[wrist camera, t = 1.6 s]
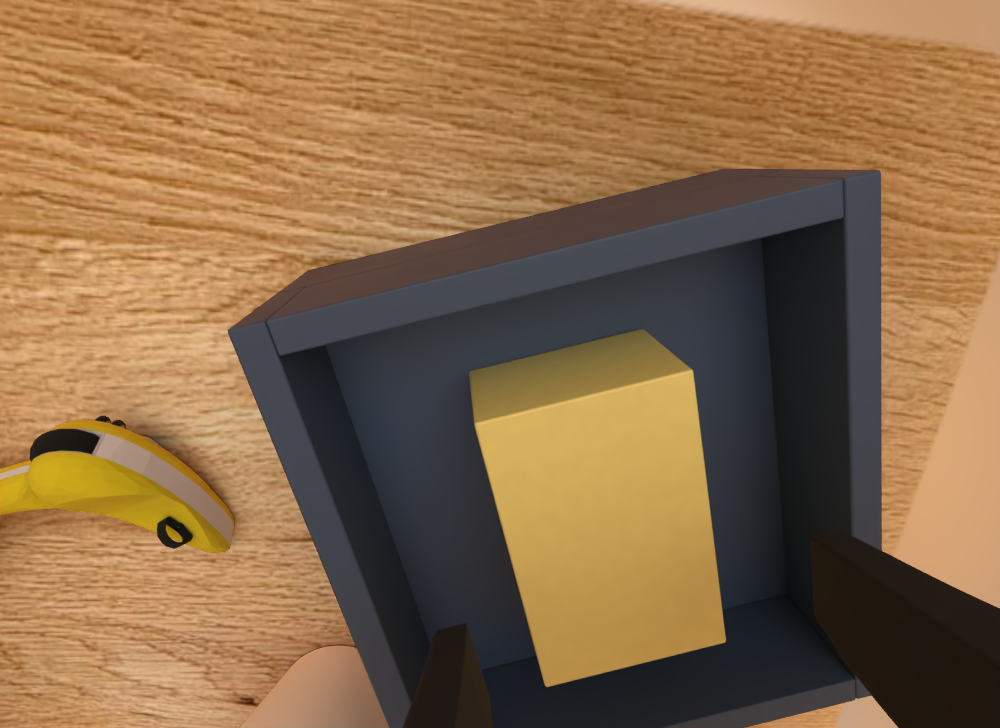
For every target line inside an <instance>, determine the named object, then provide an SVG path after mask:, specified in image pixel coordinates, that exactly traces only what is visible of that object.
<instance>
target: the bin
mask: <svg viewBox="0 0 1000 728" xmlns="http://www.w3.org/2000/svg"><path fill="white" fill-rule="evenodd" d="M640 329H644V330H645V331H646V332H647V333H649V334H650V335H651V336H652V337H653V338H655V339H656V340H657V341H658V342H659V343H661V344H662V345H663V346H664V347H665V348H667V349H668V350H669V351H670V352H671V353H673V354H674V355H675V356H676V357H677V358H679V359H680V360H681V361H682V362H684V363H685V364H686V365H687V366H688V367H690V368H691V369H692V370H693V374H694V382H695V390H696V398H697V406H698V415H699V423H700V431H701V439H702V447H703V456H704V464H705V472H706V480H707V488H708V497H709V505H710V513H711V521H712V529H713V538H714V546H715V554H716V562H717V570H718V579H719V587H720V595H721V603H722V611H723V620H724V628H725V636H726V642H725V643H721V644H717V645H713V646H709V647H705V648H701V649H697V650H693V651H689V652H685V653H681V654H677V655H673V656H669V657H665V658H661V659H657V660H653V661H649V662H645V663H641V664H637V665H633V666H629V667H625V668H621V669H617V670H613V671H609V672H605V673H601V674H597V675H593V676H589V677H585V678H581V679H577V680H573V681H569V682H565V683H561V684H557V685H553V686H549V687H546V686H545V685H544V681H543V677H542V674H541V670H540V666H539V663H538V659H537V655H536V651H535V648H534V644H533V640H532V637H531V633H530V629H529V626H528V622H527V618H526V614H525V611H524V607H523V603H522V600H521V596H520V592H519V589H518V585H517V581H516V577H515V574H514V570H513V566H512V563H511V559H510V555H509V552H508V548H507V544H506V541H505V537H504V533H503V529H502V526H501V522H500V518H499V515H498V511H497V507H496V504H495V500H494V496H493V492H492V489H491V485H490V481H489V478H488V474H487V470H486V467H485V463H484V459H483V456H482V452H481V448H480V444H479V441H478V437H477V433H476V430H475V426H474V417H473V407H472V398H471V388H470V378H469V372H470V371H473V370H477V369H481V368H485V367H490V366H494V365H498V364H502V363H506V362H510V361H514V360H518V359H522V358H526V357H530V356H534V355H538V354H542V353H546V352H550V351H554V350H559V349H563V348H567V347H571V346H575V345H579V344H583V343H587V342H591V341H595V340H599V339H603V338H607V337H611V336H615V335H619V334H624V333H628V332H632V331H636V330H640ZM228 334H229V336H230V339H231V341H232V344H233V346H234V348H235V351H236V353H237V356H238V358H239V361H240V363H241V366H242V368H243V371H244V373H245V375H246V378H247V380H248V383H249V385H250V388H251V390H252V393H253V395H254V398H255V400H256V402H257V405H258V407H259V410H260V412H261V415H262V417H263V420H264V422H265V424H266V427H267V429H268V432H269V434H270V437H271V439H272V442H273V444H274V447H275V449H276V451H277V454H278V456H279V459H280V461H281V464H282V466H283V469H284V471H285V473H286V476H287V478H288V481H289V483H290V486H291V488H292V491H293V493H294V496H295V498H296V500H297V503H298V505H299V508H300V510H301V513H302V515H303V518H304V520H305V523H306V525H307V527H308V530H309V532H310V535H311V537H312V540H313V542H314V545H315V547H316V549H317V552H318V554H319V557H320V559H321V562H322V564H323V567H324V569H325V572H326V574H327V576H328V579H329V581H330V584H331V586H332V589H333V591H334V594H335V596H336V598H337V601H338V603H339V606H340V608H341V611H342V613H343V616H344V618H345V621H346V623H347V625H348V628H349V630H350V633H351V635H352V638H353V640H354V643H355V645H356V648H357V650H358V652H359V655H360V657H361V660H362V662H363V665H364V667H365V670H366V672H367V674H368V677H369V679H370V682H371V684H372V687H373V689H374V692H375V694H376V697H377V699H378V701H379V704H380V706H381V709H382V711H383V714H384V716H385V719H386V721H387V724H388V726H389V728H402V727H403V725H404V722H405V719H406V717H407V714H408V711H409V709H410V706H411V704H412V701H413V698H414V696H415V693H416V690H417V687H418V684H419V681H420V678H421V675H422V672H423V669H424V666H425V663H426V660H427V656H428V653H429V649H430V646H431V642H432V639H433V635H434V634H435V633H436V631H437V630H440V629H444V628H448V627H452V626H456V625H460V624H464V623H466V624H467V627H468V630H469V633H470V636H471V639H472V642H473V646H474V649H475V652H476V655H477V658H478V661H479V664H480V668H481V671H482V674H483V677H484V680H485V683H486V687H487V690H488V693H489V696H490V703H491V711H492V719H493V727H494V728H745V727H749V726H753V725H757V724H761V723H765V722H769V721H773V720H777V719H781V718H785V717H789V716H793V715H797V714H801V713H805V712H809V711H813V710H817V709H821V708H825V707H829V706H833V705H837V704H841V703H845V702H849V701H852V700H855V698H858V699H859V698H863V697H866V696H871V694H870V693H869V691H868V690H867V689H866V688H865V687H864V685H863V684H862V683H861V682H860V680H859V679H858V678H857V677H856V675H855V674H854V673H853V672H852V670H851V669H850V668H849V667H848V665H847V664H846V663H845V661H844V660H843V658H842V657H841V655H840V654H839V652H838V651H837V649H836V648H835V646H834V645H833V644H832V642H831V640H830V639H829V637H828V636H827V634H826V633H825V631H824V629H823V628H822V626H821V625H820V623H819V622H818V620H817V618H816V617H815V615H814V602H813V583H812V565H811V546H810V537H811V536H815V535H819V534H823V533H827V532H831V531H835V530H841V531H843V532H845V533H847V534H849V535H851V536H853V537H855V538H857V539H859V540H861V541H863V542H865V543H867V544H869V545H871V546H873V547H875V548H877V549H879V550H881V551H882V504H881V173H880V171H878V170H790V169H785V170H783V169H722V170H717V171H713V172H709V173H705V174H701V175H697V176H693V177H689V178H685V179H681V180H677V181H672V182H668V183H664V184H660V185H656V186H652V187H648V188H644V189H640V190H636V191H632V192H628V193H623V194H619V195H615V196H611V197H607V198H603V199H599V200H595V201H591V202H587V203H583V204H578V205H574V206H570V207H566V208H562V209H558V210H554V211H550V212H546V213H542V214H538V215H533V216H529V217H525V218H521V219H517V220H513V221H509V222H505V223H501V224H497V225H493V226H488V227H484V228H480V229H476V230H472V231H468V232H464V233H460V234H456V235H452V236H448V237H444V238H439V239H435V240H431V241H427V242H423V243H419V244H415V245H411V246H407V247H403V248H399V249H394V250H390V251H386V252H382V253H378V254H374V255H370V256H366V257H362V258H358V259H354V260H349V261H345V262H341V263H337V264H333V265H329V266H325V267H321V268H317V269H313V270H309V271H307V272H306V273H304V274H303V275H302V276H300V277H299V278H298V279H296V280H295V281H294V282H292V283H291V284H289V285H288V286H287V287H285V288H284V289H283V290H281V291H280V292H279V293H277V294H276V295H274V296H273V297H272V298H270V299H269V300H268V301H266V302H265V303H264V304H262V305H261V306H260V307H258V308H257V309H256V310H254V311H253V312H252V313H250V314H249V315H247V316H246V317H245V318H243V319H242V320H241V321H239V322H238V323H237V324H235V325H234V326H233V327H231V328H230V329H229V330H228Z"/></svg>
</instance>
